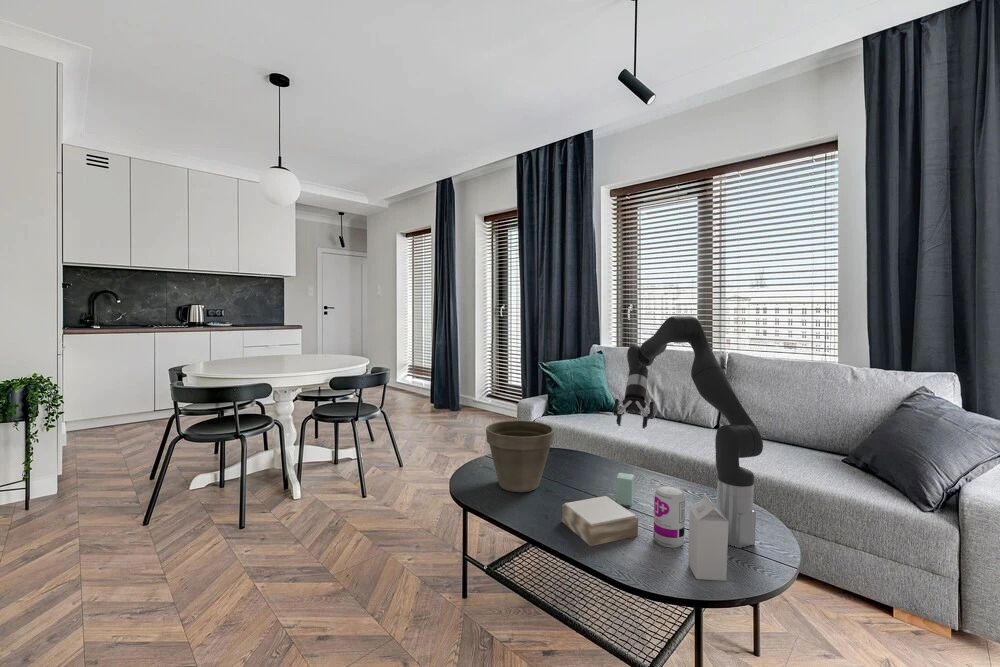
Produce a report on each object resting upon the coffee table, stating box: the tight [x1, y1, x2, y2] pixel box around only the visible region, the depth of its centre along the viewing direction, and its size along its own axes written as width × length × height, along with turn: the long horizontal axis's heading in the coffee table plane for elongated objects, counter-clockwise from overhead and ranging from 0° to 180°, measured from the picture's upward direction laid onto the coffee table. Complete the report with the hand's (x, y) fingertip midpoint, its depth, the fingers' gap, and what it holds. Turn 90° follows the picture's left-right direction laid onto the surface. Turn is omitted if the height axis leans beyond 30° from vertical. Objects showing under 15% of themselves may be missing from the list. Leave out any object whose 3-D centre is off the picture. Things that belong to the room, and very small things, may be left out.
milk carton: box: [687, 493, 729, 582], centre depth 120 cm, size 7×7×19 cm
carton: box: [615, 472, 635, 507], centre depth 163 cm, size 5×5×9 cm
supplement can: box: [653, 484, 686, 549], centre depth 136 cm, size 8×8×15 cm
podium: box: [561, 495, 639, 547], centre depth 144 cm, size 16×16×6 cm
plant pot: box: [485, 420, 555, 493], centre depth 177 cm, size 25×25×22 cm
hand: (631, 426), depth 172 cm, fingers open, 8 cm apart
